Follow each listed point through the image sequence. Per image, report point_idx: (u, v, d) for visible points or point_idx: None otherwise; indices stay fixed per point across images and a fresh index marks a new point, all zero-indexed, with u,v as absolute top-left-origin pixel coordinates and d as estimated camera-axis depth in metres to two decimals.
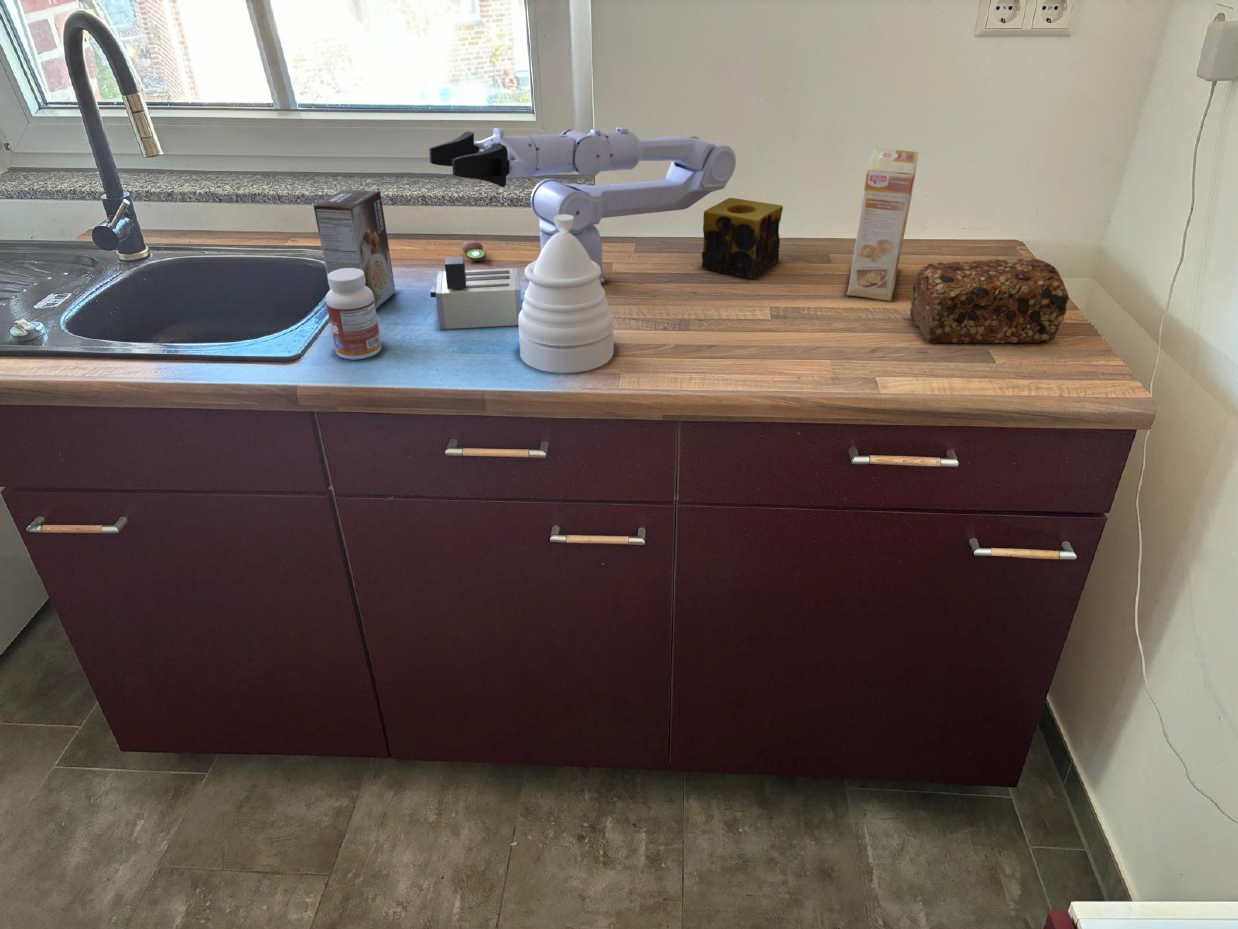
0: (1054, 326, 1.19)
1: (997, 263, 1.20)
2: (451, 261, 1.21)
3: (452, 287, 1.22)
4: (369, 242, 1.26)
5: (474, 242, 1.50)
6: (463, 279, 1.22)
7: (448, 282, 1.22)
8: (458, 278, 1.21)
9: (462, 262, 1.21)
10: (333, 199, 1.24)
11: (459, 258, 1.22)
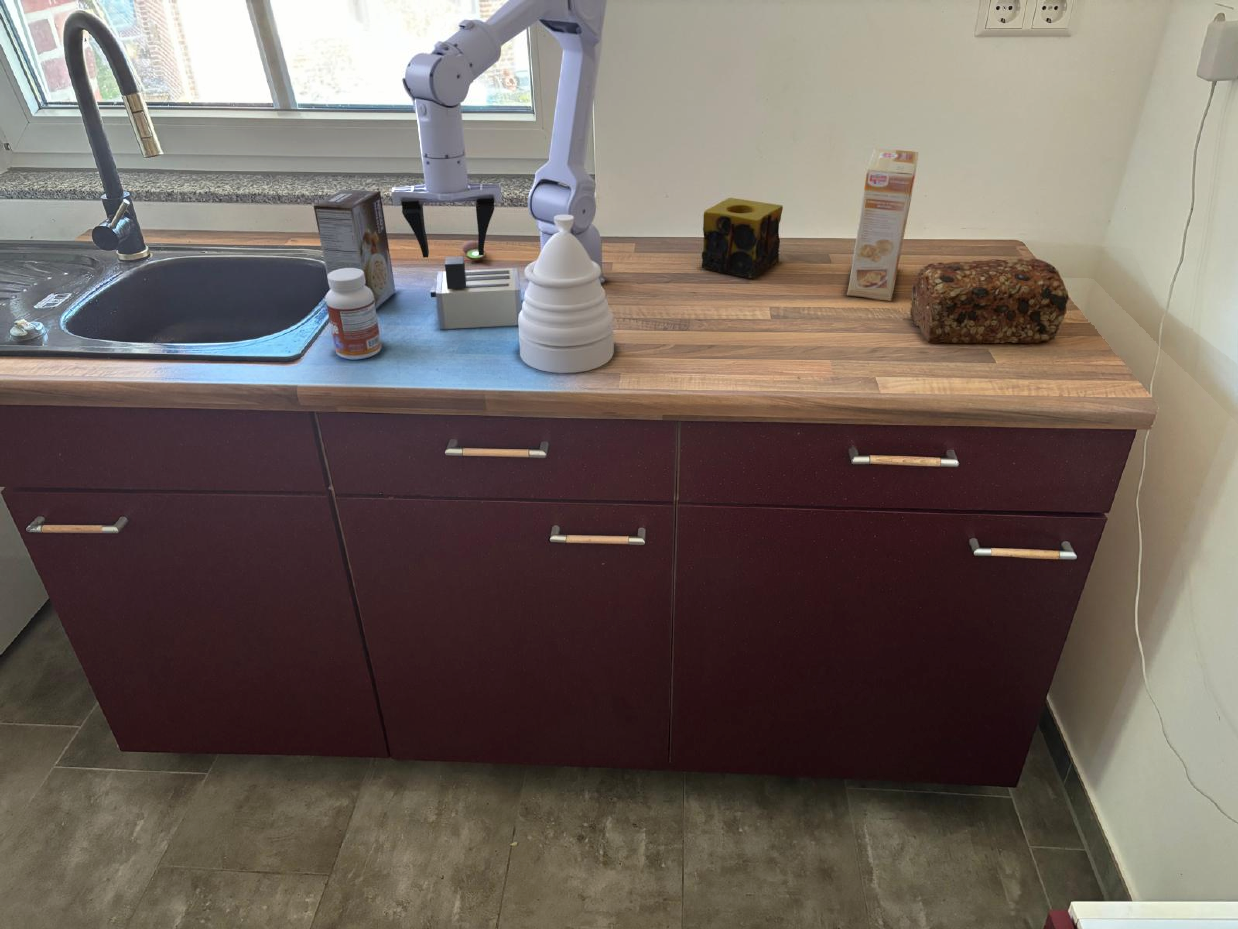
0: (1054, 326, 1.19)
1: (997, 263, 1.20)
2: (451, 261, 1.21)
3: (452, 287, 1.22)
4: (369, 242, 1.26)
5: (474, 242, 1.50)
6: (463, 279, 1.22)
7: (448, 282, 1.22)
8: (458, 278, 1.21)
9: (462, 262, 1.21)
10: (333, 199, 1.24)
11: (459, 258, 1.22)
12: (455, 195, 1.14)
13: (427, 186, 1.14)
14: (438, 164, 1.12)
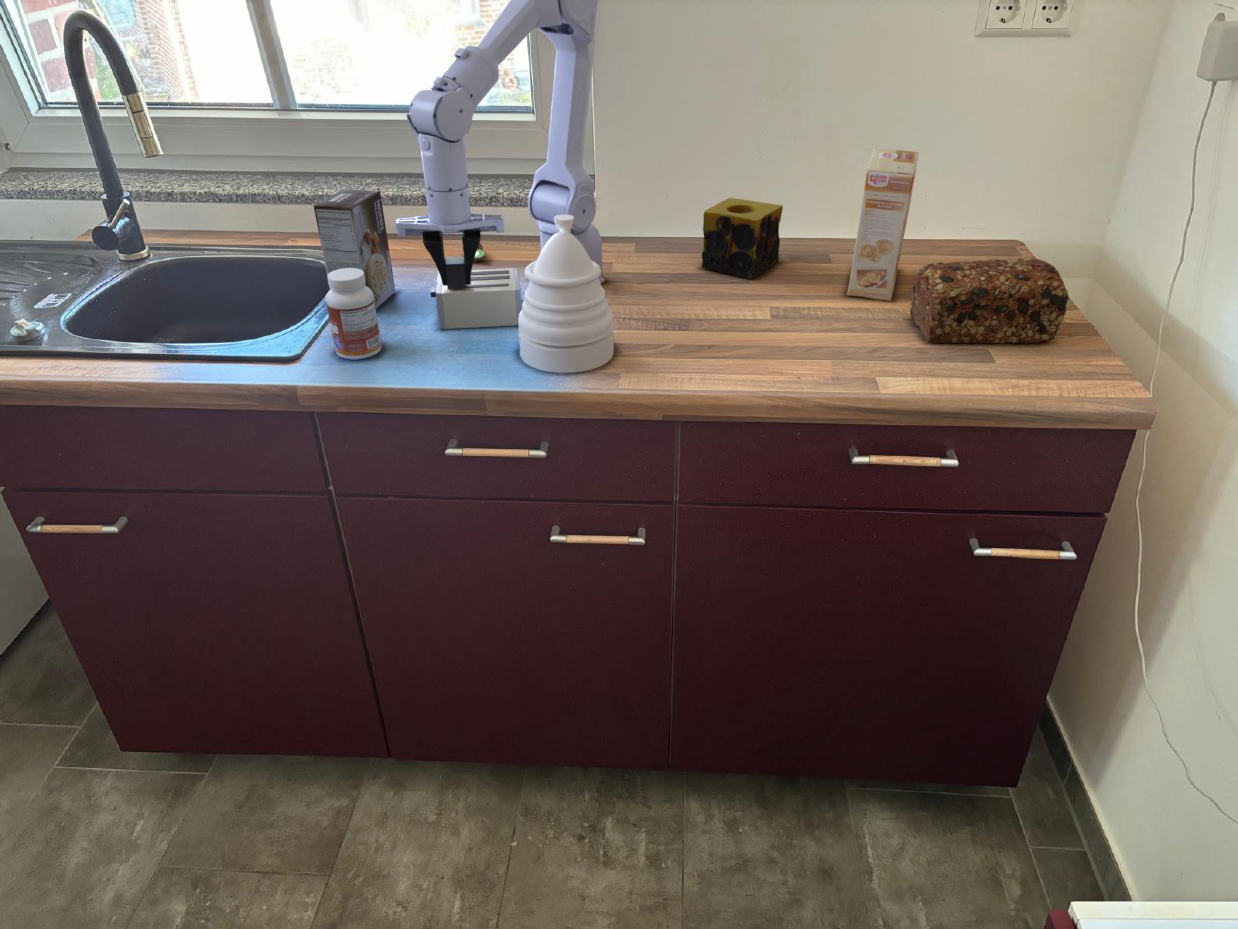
0: (1054, 326, 1.19)
1: (997, 263, 1.20)
2: (451, 261, 1.21)
3: (452, 287, 1.22)
4: (369, 242, 1.26)
5: None
6: (463, 279, 1.22)
7: (448, 282, 1.22)
8: (459, 278, 1.21)
9: (462, 262, 1.21)
10: (333, 199, 1.24)
11: (460, 258, 1.22)
12: (458, 227, 1.16)
13: (431, 218, 1.17)
14: (441, 197, 1.14)
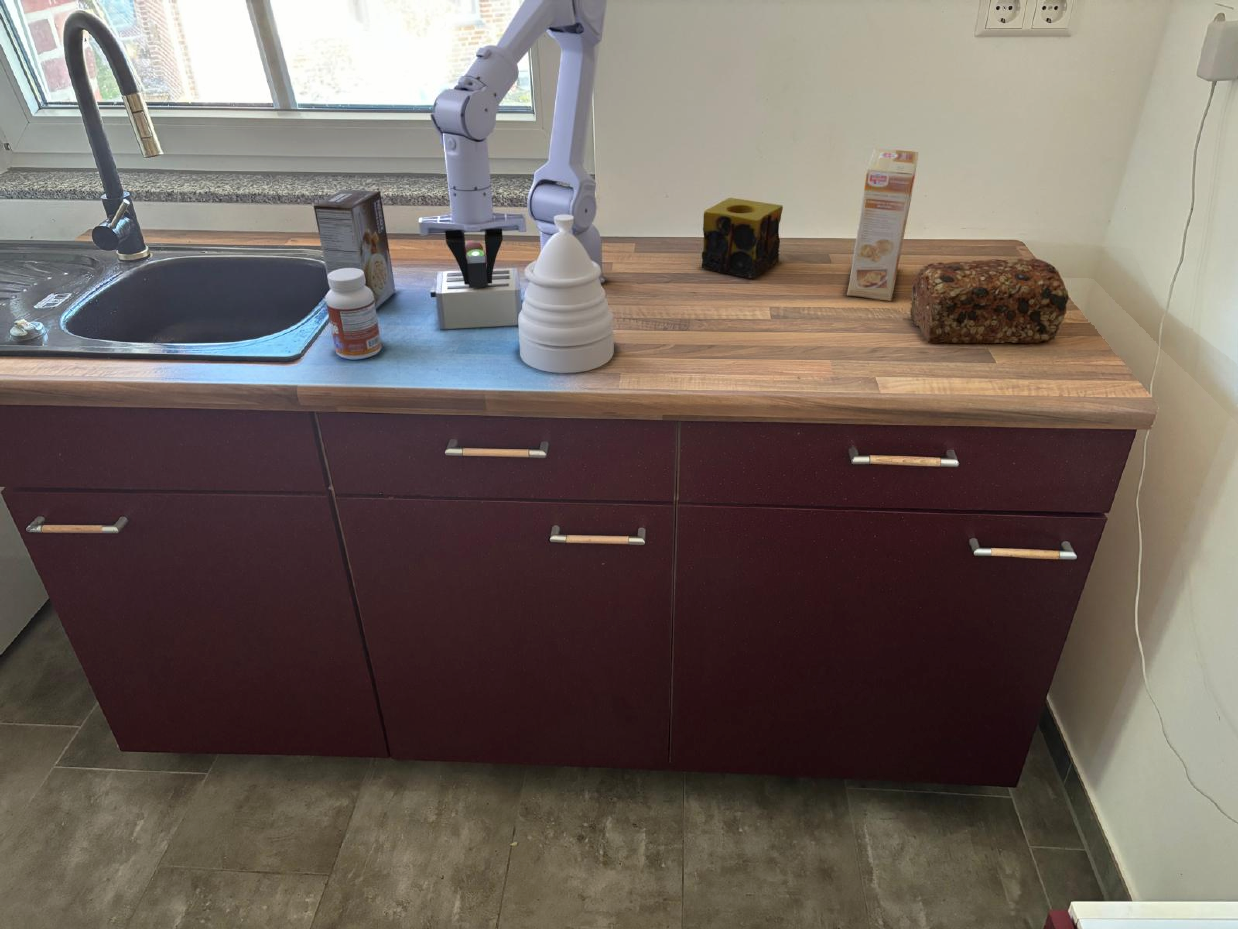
0: (1054, 326, 1.19)
1: (997, 263, 1.20)
2: (473, 260, 1.22)
3: (474, 286, 1.22)
4: (369, 242, 1.26)
5: (474, 242, 1.50)
6: (485, 278, 1.22)
7: (470, 281, 1.22)
8: (480, 277, 1.22)
9: (484, 261, 1.21)
10: (333, 199, 1.24)
11: (481, 257, 1.22)
12: (481, 226, 1.17)
13: (453, 217, 1.17)
14: (465, 196, 1.14)
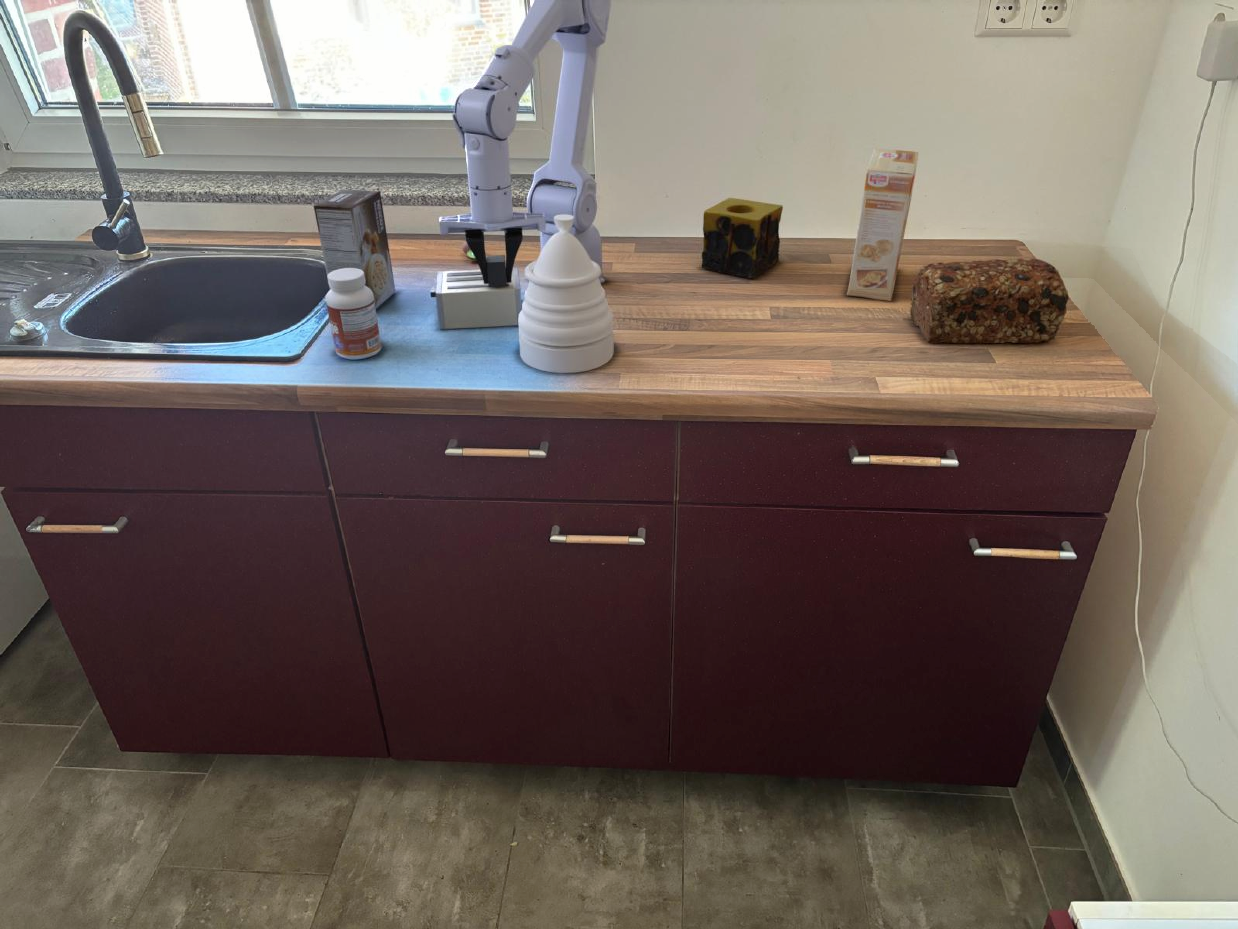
0: (1054, 326, 1.19)
1: (997, 263, 1.20)
2: (493, 259, 1.22)
3: (493, 285, 1.23)
4: (369, 242, 1.26)
5: None
6: (504, 277, 1.22)
7: (489, 280, 1.22)
8: (500, 276, 1.22)
9: (504, 260, 1.21)
10: (333, 199, 1.24)
11: (500, 256, 1.23)
12: (501, 225, 1.17)
13: (474, 216, 1.17)
14: (486, 195, 1.15)
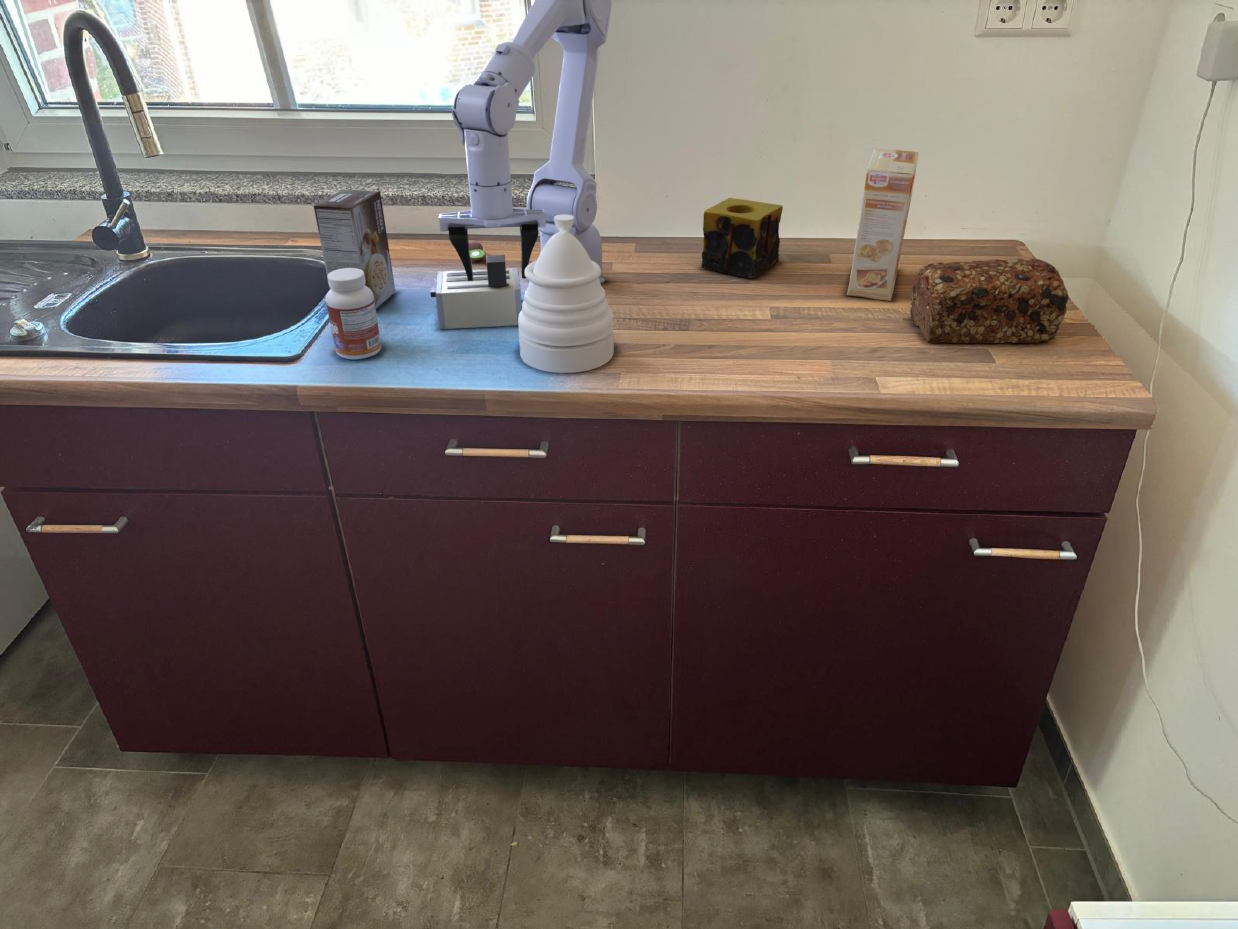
0: (1054, 326, 1.19)
1: (997, 263, 1.20)
2: (493, 259, 1.22)
3: (493, 285, 1.23)
4: (369, 242, 1.26)
5: (474, 242, 1.50)
6: (504, 277, 1.22)
7: (489, 280, 1.22)
8: (500, 276, 1.22)
9: (504, 260, 1.21)
10: (333, 199, 1.24)
11: (500, 256, 1.23)
12: (501, 221, 1.17)
13: (474, 212, 1.17)
14: (485, 192, 1.14)
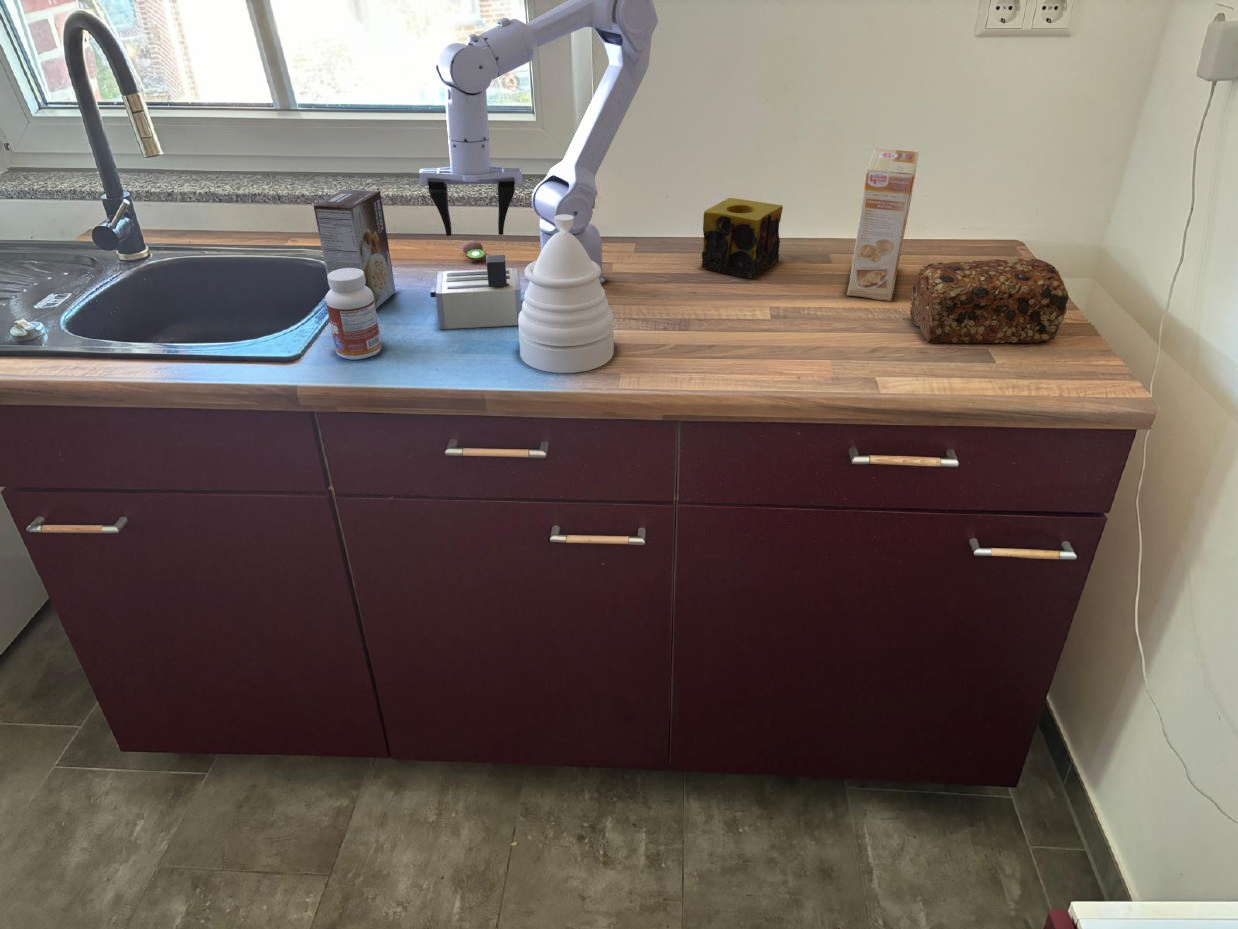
0: (1054, 326, 1.19)
1: (997, 263, 1.20)
2: (493, 259, 1.22)
3: (493, 285, 1.23)
4: (369, 242, 1.26)
5: (474, 242, 1.50)
6: (504, 277, 1.22)
7: (489, 280, 1.22)
8: (500, 276, 1.22)
9: (504, 260, 1.21)
10: (333, 199, 1.24)
11: (500, 256, 1.23)
12: (479, 177, 1.22)
13: (453, 168, 1.22)
14: (464, 147, 1.20)
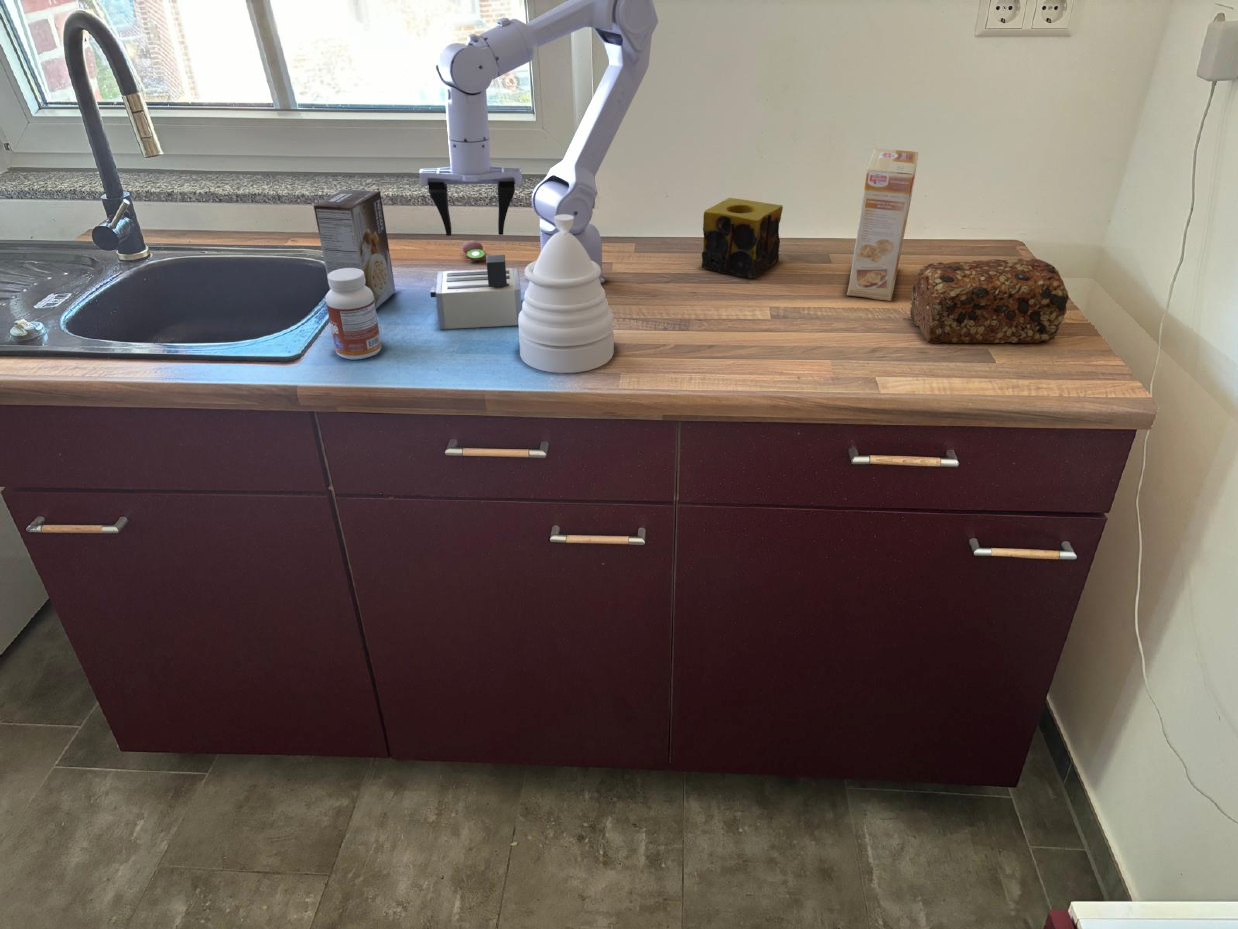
0: (1054, 326, 1.19)
1: (997, 263, 1.20)
2: (493, 259, 1.22)
3: (493, 285, 1.23)
4: (369, 242, 1.26)
5: (474, 242, 1.50)
6: (504, 277, 1.22)
7: (489, 280, 1.22)
8: (500, 276, 1.22)
9: (504, 260, 1.21)
10: (333, 199, 1.24)
11: (500, 256, 1.23)
12: (479, 177, 1.22)
13: (453, 168, 1.22)
14: (464, 147, 1.20)
